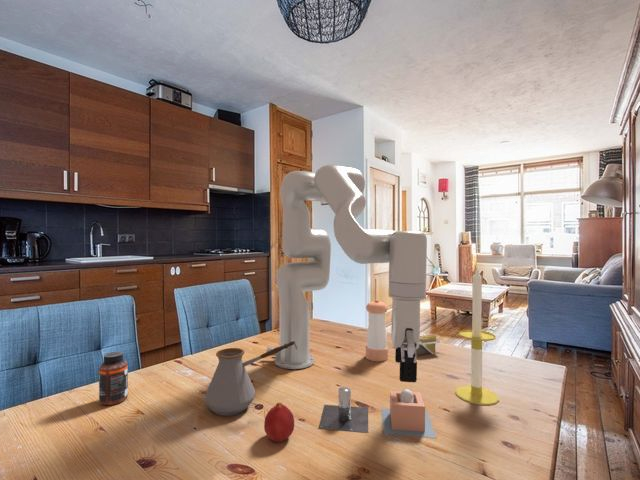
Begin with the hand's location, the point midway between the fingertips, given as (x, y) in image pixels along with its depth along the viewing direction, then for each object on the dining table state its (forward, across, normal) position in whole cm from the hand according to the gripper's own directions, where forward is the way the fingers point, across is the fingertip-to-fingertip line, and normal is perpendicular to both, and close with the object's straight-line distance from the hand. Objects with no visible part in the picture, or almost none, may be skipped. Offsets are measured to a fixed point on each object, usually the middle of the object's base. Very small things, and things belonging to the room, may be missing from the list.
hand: (405, 371), depth 71 cm
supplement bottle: (+13, -1, -68) cm, 70 cm away
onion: (+12, +10, -24) cm, 29 cm away
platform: (+13, -46, +13) cm, 50 cm away
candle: (+12, -16, +20) cm, 28 cm away
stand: (+12, +1, -12) cm, 17 cm away
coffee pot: (+12, -3, -34) cm, 37 cm away
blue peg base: (+12, +1, 0) cm, 12 cm away
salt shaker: (+12, -40, -4) cm, 43 cm away
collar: (+10, 0, 0) cm, 11 cm away
